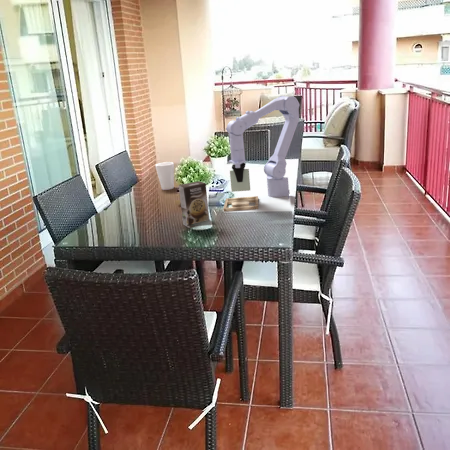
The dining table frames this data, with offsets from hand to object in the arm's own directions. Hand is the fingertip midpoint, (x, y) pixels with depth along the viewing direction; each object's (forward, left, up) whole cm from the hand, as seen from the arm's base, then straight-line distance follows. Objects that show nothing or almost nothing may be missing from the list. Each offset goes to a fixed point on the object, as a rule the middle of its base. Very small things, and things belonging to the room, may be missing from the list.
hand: (240, 181), depth 205 cm
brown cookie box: (+17, +23, -11) cm, 31 cm away
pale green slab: (0, 0, -4) cm, 4 cm away
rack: (0, +5, -10) cm, 12 cm away
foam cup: (+41, -42, -11) cm, 60 cm away
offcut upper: (0, +9, -9) cm, 13 cm away
